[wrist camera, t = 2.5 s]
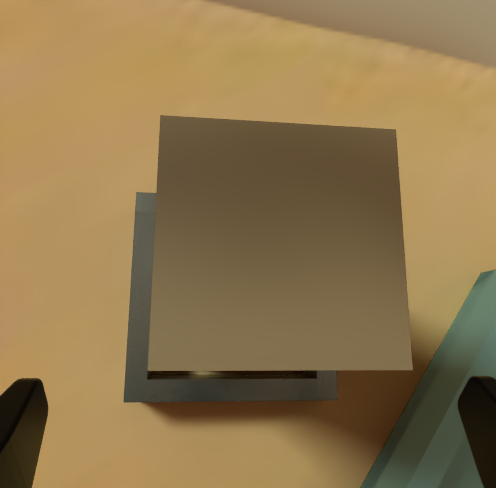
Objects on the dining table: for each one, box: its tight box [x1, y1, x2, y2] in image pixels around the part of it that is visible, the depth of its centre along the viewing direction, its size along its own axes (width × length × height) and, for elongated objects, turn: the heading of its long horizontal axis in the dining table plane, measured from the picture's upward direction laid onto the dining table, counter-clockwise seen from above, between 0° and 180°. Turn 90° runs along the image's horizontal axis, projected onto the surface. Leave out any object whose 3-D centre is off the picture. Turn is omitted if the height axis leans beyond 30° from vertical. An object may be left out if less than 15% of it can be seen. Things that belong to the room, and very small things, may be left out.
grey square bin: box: [124, 192, 338, 402], centre depth 19 cm, size 8×8×2 cm
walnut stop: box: [148, 115, 413, 371], centre depth 14 cm, size 4×4×12 cm
